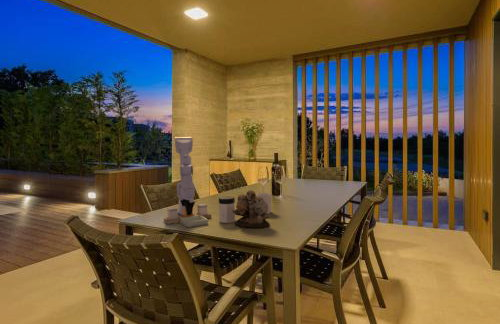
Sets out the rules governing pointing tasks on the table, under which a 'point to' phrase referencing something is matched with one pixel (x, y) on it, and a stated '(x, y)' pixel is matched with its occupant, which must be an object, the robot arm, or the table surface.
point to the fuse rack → (183, 217)
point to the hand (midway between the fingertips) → (187, 214)
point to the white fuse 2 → (202, 209)
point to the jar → (226, 209)
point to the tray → (194, 221)
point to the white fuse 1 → (172, 213)
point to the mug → (266, 200)
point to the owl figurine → (251, 211)
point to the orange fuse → (186, 212)
